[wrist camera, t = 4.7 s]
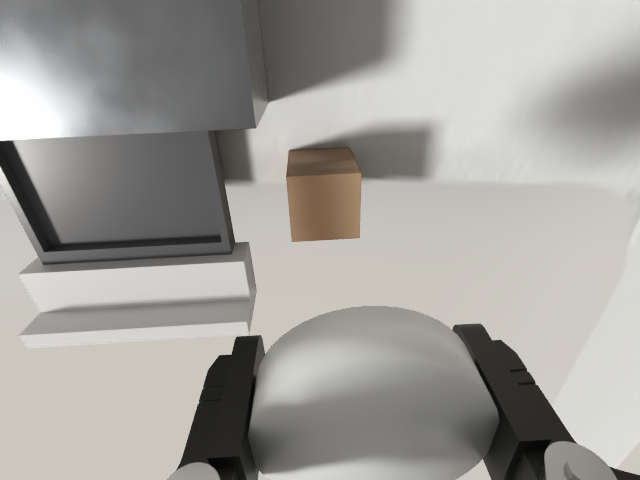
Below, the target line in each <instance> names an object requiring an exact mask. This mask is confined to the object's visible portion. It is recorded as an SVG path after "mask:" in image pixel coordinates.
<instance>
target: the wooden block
mask: <svg viewBox="0 0 640 480" xmlns="http://www.w3.org/2000/svg"><path fill="white" fill-rule="evenodd" d="M286 180H287V191H288V201H289V214H290V225H291V237H292V242H298V241H316V240H333V239H352V238H360V203H361V171H360V169H359V167H358V165H357V163H356V160H355V158H354V156H353V154H352V152H351V149H350V148H333V149H312V150H292V151H289V154H288V164H287V174H286Z"/></svg>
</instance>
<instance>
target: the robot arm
mask: <svg viewBox="0 0 640 480" xmlns="http://www.w3.org/2000/svg"><path fill="white" fill-rule="evenodd" d="M453 331H454V332H455V333H456V334H457V335H458V336H459V337H460V339H461V340H462V341H463V343H464V344H465V346H466V348H467V350H468V352H469V354H470V356H471V358H472V360H473V362H474V364H475V366H476V368H477V370H478V372H479V374H480V376H481V378H482V380H483V382H484V384H485V386H486V388H487V390H488V392H489V394H490V396H491V398H492V400H493V402H494V404H495V406H496V408H497V410H498V415H499V424H498V427H497V430H496V432H495V435H494V438H493V440H492V443H491V446H490V448H489V451H488V453H487V455H486V456H485V457H484V458H483V460H484V463H485V465H486V467H487V470H488V472H489V475H490V477H491V480H640V475H636V474H632V473H628V472H624V471H620V470H617V469H614V468H612V467H609V466H608V465H607V464H606V463H605V462H604V461H603V460H602V459H601V458H600V457H599V456H597V455H596V454H595V453H593V452H592V451H590V450H589V449H587V448H585V447H583V446H581V445H578V444H577V443H576V442H575V441H574V439H573V438H572V437H571V435H570V434H569V432H568V431H567V429H566V428H565V426H564V425H563V423H562V422H561V420H560V419H559V417H558V416H557V414H556V412H555V411H554V409H553V408H552V406H551V405H550V403H549V402H548V400H547V399H546V397H545V396H544V394H543V393H542V391H541V390H540V388H539V387H538V385H536V384H535V381H534V379H533V377H532V376H531V374H530V373H529V372H527V368H526V367H525V365H524V364H523V362H522V361H521V359H520V358H519V356H518V355H517V353H515V351H513V350H512V349H511V348H510V347H509V346H507V345H506V344H505V343H504V342H503V341H501V340H493V341H492V340H491V338H490V336H489V335H488V333H487V331H486V330H485V328H484V327H483V325H481V324H462V325H454V327H453ZM264 356H265V351H264V346H263V340H262V337H261V335H258V336H241V337H236V339H235V343H234V347H233V351H232V355H220V356H219V357H218V358H217V359H216V360H215V362H214V363H213V365H212V366H211V367H210V368H209V370H208V373H207V376H206V379H205V383H204V386H203V390H202V393H201V396H200V400H199V404H198V406H197V410H196V413H195V416H194V420H193V423H192V426H191V430H190V433H189V437H188V440H187V443H186V447H185V450H184V453H183V457H182V459H181V462H180V464H179V466H178V468H177V470H176V471H175V472H174V473H173V474H172V475H171V476H170V477H169V478H168V479H167V480H258V472H259V470H258V469H257V467H256V465H255V462H254V458H253V454H252V451H251V447H250V443H249V440H248V430H249V424H250V417H251V410H252V403H253V396H254V390H255V383H256V376H257V372H258V369H259V365H260V363H261V361H262V359H263V357H264Z"/></svg>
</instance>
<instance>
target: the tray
mask: <svg viewBox="0 0 640 480" xmlns="http://www.w3.org/2000/svg"><path fill="white" fill-rule="evenodd" d="M0 184H1V186H2V188H3V190H4V192H5V194H6V195H7V197H8V199H9V201H10V203H11V205H12V206H13V209H14V211H15V213H16V214H17V216H18V218H19V220H20V222H21V224H22V226H23V228H24V230H25V232H26V234H27V236H28V237H29V239H30V241H31V243H32V245H33V247H34V249H35V251H36V253H37V255H38V258H37V259H36V260H34V261H33V262H32V263H31V264H30V265H28V266H27V267H26V268H25V269H24V270H22V271H21V272H20V273H19V274H18V275H19V277H20V278H21V280H22V281H23V284H24V285H25V287H26V289H27V291H28V292H29V294H30V296H31V297H32V299H33V301H34V303H35V304H36V306H37V308H38V310H39V311H40V314H39V315H38V316H37V317H36V318H35V319H34V320H33V321H32V322H31V323H30V324H29V325H28V327H27V328H26V329H25V330H24V331H23V332H22V333H21V334H20V335H19V336H20V338H21V340H22V341H23V343H24V344H25V346H26V347H27V348H42V347H58V346H74V345H90V344H107V343H121V342H139V341H155V340H169V339H187V338H203V337H219V336H235V335H249V332H250V326H251V320H252V315H253V309H254V303H255V297H256V284H255V278H254V272H253V267H252V259H251V253H250V247H249V242H240V243H235V239H234V234H233V229H232V223H231V217H230V212H229V206H228V201H227V196H226V190H225V184H224V179H223V173H222V168H221V162H220V157H219V152H218V146H217V141H216V135H215V130H209V131H188V132H167V133H145V134H124V135H103V136H82V137H61V138H39V139H18V140H0Z"/></svg>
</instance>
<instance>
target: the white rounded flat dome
mask: <svg viewBox="0 0 640 480" xmlns="http://www.w3.org/2000/svg"><path fill="white" fill-rule="evenodd" d="M498 424H499V415H498V410H497V408H496V406H495V404H494V402H493V400H492V398H491V396H490V394H489V392H488V390H487V388H486V386H485V384H484V382H483V380H482V378H481V376H480V374H479V372H478V370H477V368H476V366H475V364H474V362H473V360H472V358H471V356H470V354H469V352H468V350H467V348H466V346H465V344H464V343H463V341H462V340H461V339H460V337H459V336H458V335H457V334H456V333H455V332H454V331H453V330H451V329H450V328H449V327H448V326H446V325H445V324H443V323H441V322H440V321H438V320H436V319H434V318H432V317H430V316H428V315H425V314H422V313H419V312H416V311H412V310H408V309H403V308H398V307H387V306H362V307H353V308H346V309H342V310H337V311H332V312H329V313H326V314H323V315H319V316H317V317H315V318H312V319H310V320H308V321H305V322H303V323H301V324H300V325H298V326H296V327H295V328H293V329H291V330H290V331H289V332H287V333H286V334H284V335H283V336H282V337H280V338H279V339H278V341H276V342H275V343H274V344H273V346H271V348H270V349H269V350H268V352H267V353H266V354H265V356H264V357H263V359H262V361H261V363H260V365H259V369H258V372H257V376H256V383H255V390H254V396H253V403H252V410H251V417H250V424H249V430H248V440H249V443H250V447H251V451H252V454H253V458H254V462H255V465H256V467H257V469H258V470H259V471H260V472H261V473H262V474H263V475H264V476H265V477H267V478H268V479H269V480H455V479H457V478H459V477H461V476H462V475H464V474H465V473H467V472H468V471H470V470H471V469H472V468H473V467H475V466H476V465H477V464H478V463H479V462H480V461H481V460H482V459H483V458H484V457H485V456H486V455H487V453H488V451H489V448H490V446H491V443H492V440H493V438H494V435H495V432H496V430H497V427H498Z"/></svg>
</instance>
